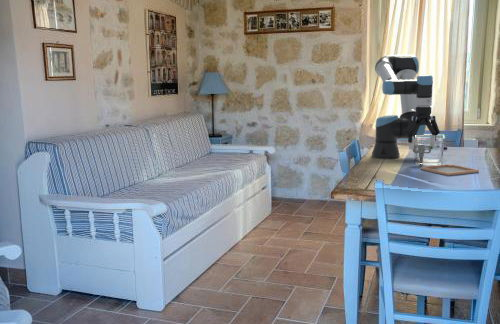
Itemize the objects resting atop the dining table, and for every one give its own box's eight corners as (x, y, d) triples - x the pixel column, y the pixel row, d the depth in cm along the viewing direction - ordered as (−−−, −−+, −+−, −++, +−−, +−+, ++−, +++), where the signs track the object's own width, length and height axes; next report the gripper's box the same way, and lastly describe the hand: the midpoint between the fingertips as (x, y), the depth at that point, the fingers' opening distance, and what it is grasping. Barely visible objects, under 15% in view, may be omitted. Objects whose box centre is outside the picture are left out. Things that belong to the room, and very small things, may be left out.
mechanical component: (431, 165, 243) (432, 146, 241) (410, 165, 245) (411, 145, 243) (430, 164, 246) (431, 145, 244) (410, 164, 248) (410, 145, 246)
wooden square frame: (420, 169, 233) (420, 167, 232) (449, 166, 240) (450, 164, 239) (448, 175, 217) (448, 173, 216) (478, 172, 224) (478, 169, 223)
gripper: (408, 107, 232) (407, 150, 236) (448, 106, 242) (446, 147, 245) (398, 106, 239) (397, 149, 242) (437, 105, 249) (435, 146, 252)
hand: (421, 148), depth 244 cm, fingers open, 13 cm apart
